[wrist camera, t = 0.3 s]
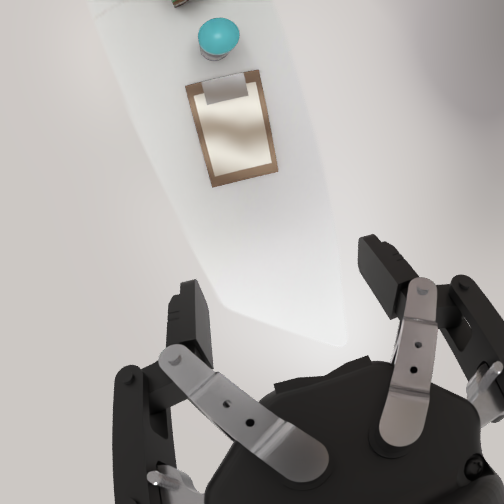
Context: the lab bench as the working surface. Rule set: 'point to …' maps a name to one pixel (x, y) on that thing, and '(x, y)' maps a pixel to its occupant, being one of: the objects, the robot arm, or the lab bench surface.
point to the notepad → (233, 127)
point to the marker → (217, 38)
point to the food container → (178, 2)
